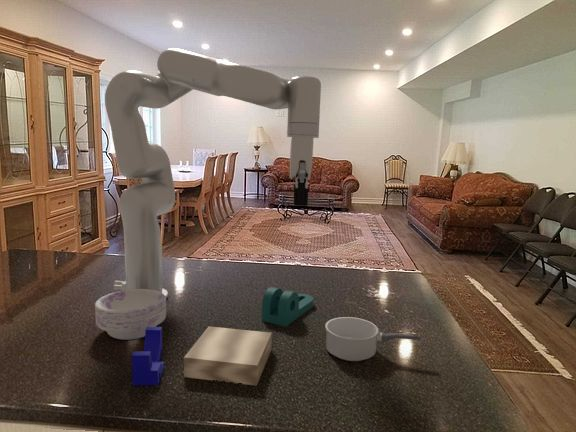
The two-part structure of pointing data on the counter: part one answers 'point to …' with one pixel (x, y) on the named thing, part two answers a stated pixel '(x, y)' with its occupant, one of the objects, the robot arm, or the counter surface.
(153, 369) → the blue stepped block
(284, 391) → the counter surface
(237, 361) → the plate
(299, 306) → the bracket
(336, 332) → the saucepan
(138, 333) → the paper bowls
